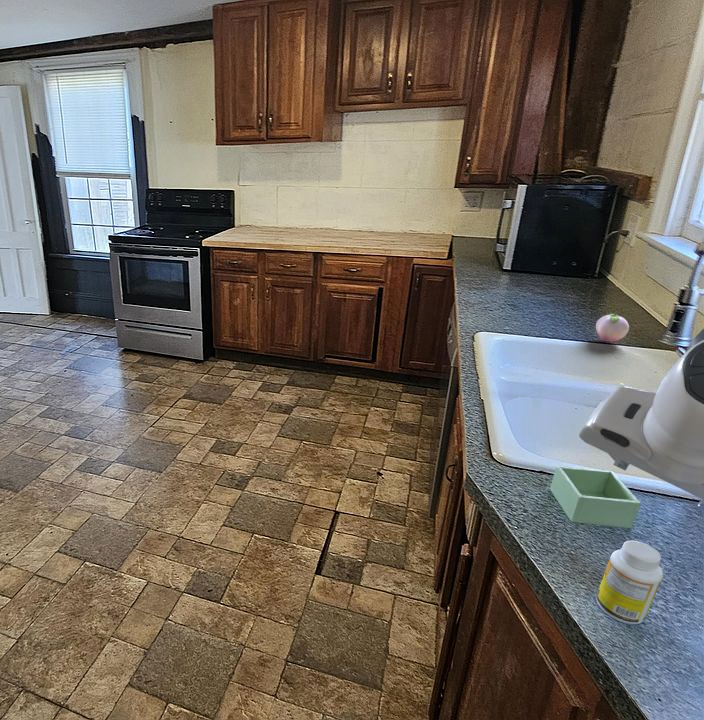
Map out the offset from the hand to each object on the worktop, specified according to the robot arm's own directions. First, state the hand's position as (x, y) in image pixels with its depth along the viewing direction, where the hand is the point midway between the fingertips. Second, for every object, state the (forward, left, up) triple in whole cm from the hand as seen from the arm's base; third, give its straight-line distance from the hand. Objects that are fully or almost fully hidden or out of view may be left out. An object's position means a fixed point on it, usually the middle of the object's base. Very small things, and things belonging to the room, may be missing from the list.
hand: (662, 483), depth 69 cm
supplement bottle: (+3, +5, -18) cm, 19 cm away
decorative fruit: (-48, -110, -18) cm, 122 cm away
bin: (-3, -18, -18) cm, 26 cm away
